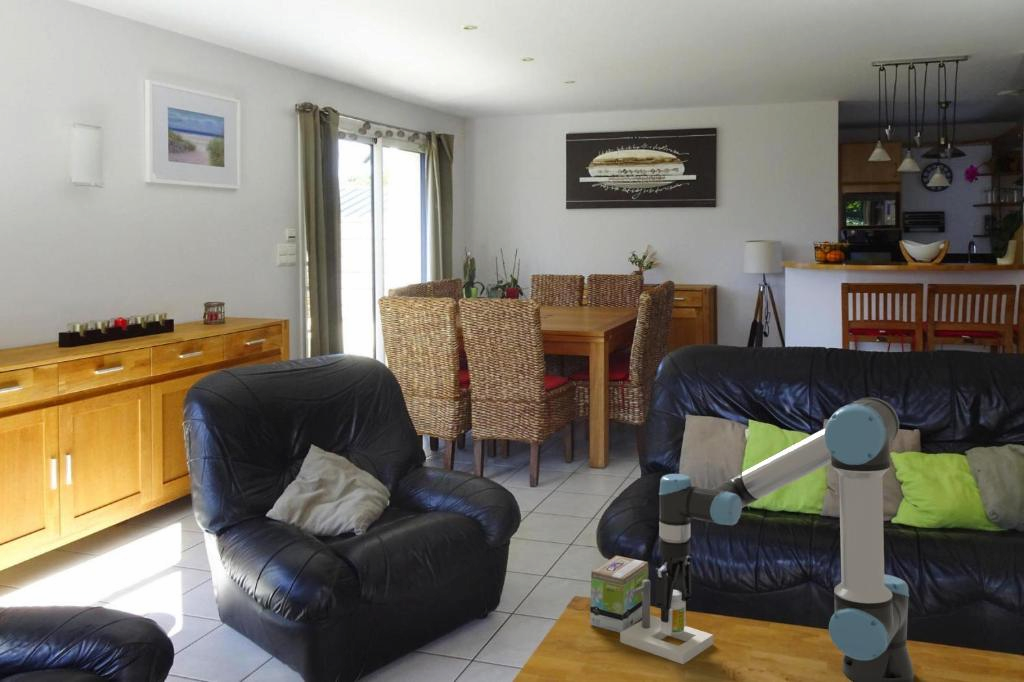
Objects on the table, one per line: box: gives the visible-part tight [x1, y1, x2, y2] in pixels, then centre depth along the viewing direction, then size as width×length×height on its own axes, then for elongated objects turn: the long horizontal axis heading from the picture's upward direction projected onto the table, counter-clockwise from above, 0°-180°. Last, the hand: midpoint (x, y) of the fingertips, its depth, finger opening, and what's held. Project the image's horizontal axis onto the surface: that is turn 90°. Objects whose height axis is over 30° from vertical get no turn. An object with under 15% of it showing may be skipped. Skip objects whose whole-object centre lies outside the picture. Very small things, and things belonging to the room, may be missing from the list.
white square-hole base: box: [619, 579, 714, 665], centre depth 218 cm, size 18×14×14 cm
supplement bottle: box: [670, 589, 684, 634], centre depth 217 cm, size 5×5×10 cm
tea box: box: [589, 555, 649, 633], centre depth 233 cm, size 15×10×15 cm, turn 147°
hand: (673, 629), depth 217 cm, fingers closed on supplement bottle, 5 cm apart
